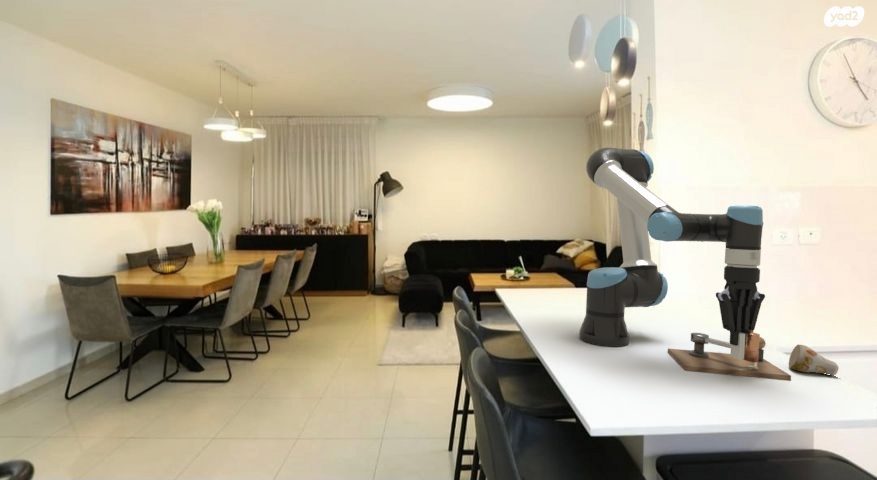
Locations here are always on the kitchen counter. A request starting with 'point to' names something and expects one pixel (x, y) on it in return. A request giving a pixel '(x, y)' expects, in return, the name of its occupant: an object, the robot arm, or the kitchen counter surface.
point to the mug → (811, 361)
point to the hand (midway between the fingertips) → (737, 357)
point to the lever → (749, 350)
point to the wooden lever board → (726, 363)
